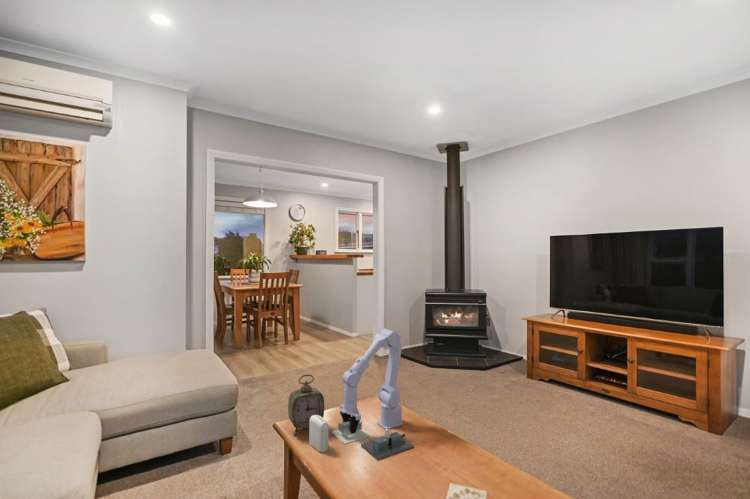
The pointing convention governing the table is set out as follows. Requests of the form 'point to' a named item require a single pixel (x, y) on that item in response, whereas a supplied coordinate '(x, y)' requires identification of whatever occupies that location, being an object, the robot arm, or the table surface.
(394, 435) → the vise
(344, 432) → the gray rectangular frame
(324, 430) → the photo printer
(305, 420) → the tabletop clock
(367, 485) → the table surface
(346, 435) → the sage mat
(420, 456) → the table surface
